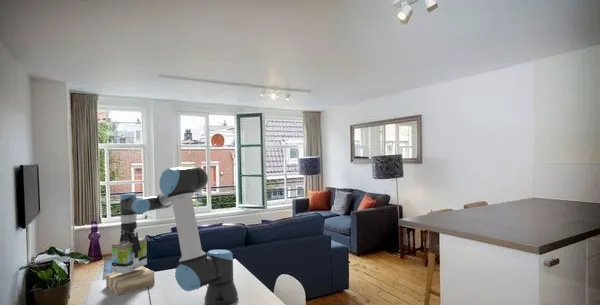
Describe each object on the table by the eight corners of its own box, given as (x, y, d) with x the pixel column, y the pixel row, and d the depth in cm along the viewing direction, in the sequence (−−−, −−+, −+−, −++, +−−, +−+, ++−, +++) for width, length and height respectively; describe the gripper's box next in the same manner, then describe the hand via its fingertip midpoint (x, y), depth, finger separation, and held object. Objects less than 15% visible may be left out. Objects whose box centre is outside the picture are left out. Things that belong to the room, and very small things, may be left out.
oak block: (154, 284, 173) (154, 271, 174) (118, 296, 160) (118, 282, 160) (141, 277, 185) (140, 265, 185) (106, 287, 172) (106, 274, 172)
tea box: (127, 273, 164) (127, 245, 165) (111, 272, 167) (110, 244, 167) (147, 264, 179) (147, 237, 179) (132, 263, 181) (131, 237, 182)
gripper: (147, 222, 169) (148, 263, 169) (125, 218, 183) (126, 256, 183) (132, 225, 163) (133, 267, 163) (111, 221, 177) (112, 260, 177)
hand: (129, 261), depth 173 cm, fingers closed on tea box, 12 cm apart
